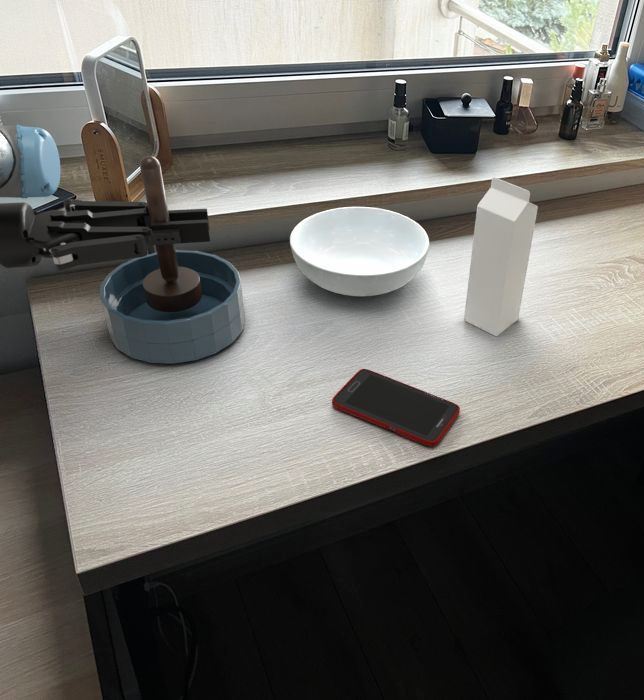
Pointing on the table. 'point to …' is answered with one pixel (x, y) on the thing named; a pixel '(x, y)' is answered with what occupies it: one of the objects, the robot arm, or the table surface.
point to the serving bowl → (359, 250)
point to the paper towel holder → (166, 253)
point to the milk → (499, 257)
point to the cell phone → (397, 407)
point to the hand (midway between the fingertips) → (208, 224)
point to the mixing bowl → (173, 327)
